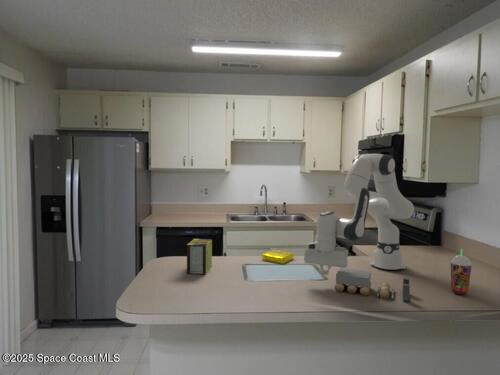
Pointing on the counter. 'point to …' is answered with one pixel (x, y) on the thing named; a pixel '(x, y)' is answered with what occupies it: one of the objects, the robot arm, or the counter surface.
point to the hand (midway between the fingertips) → (325, 274)
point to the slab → (353, 277)
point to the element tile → (278, 256)
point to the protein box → (199, 256)
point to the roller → (385, 291)
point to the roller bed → (363, 290)
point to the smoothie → (460, 274)
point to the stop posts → (406, 289)
